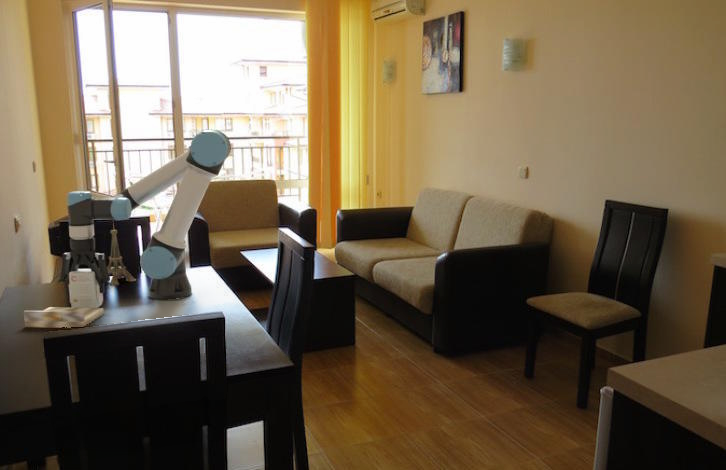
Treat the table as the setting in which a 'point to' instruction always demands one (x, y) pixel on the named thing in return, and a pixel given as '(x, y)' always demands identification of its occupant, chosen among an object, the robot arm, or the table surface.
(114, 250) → the eiffel tower
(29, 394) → the table surface
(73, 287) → the small box
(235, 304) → the table surface
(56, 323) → the shelf board
